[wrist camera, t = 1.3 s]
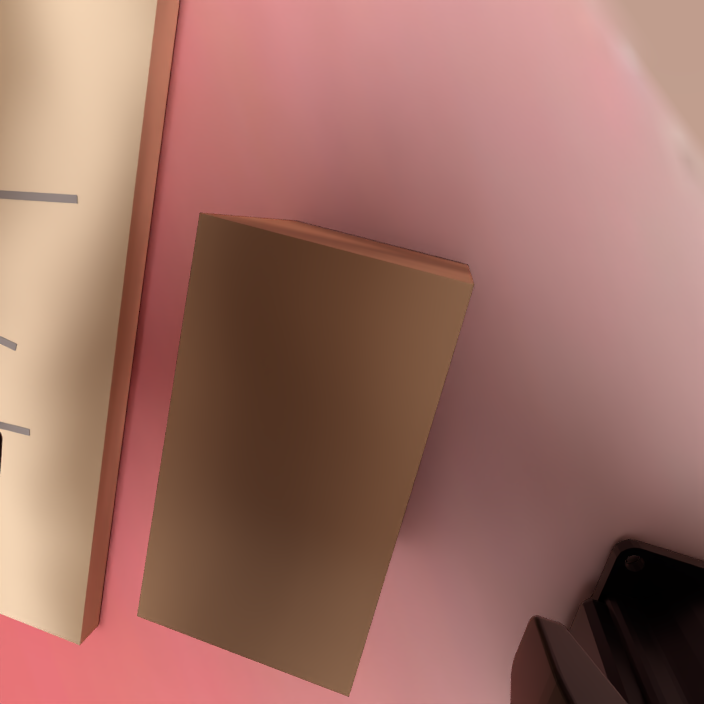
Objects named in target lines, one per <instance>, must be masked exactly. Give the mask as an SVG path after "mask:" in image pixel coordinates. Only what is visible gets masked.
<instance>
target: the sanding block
mask: <svg viewBox="0 0 704 704" xmlns="http://www.w3.org/2000/svg"><path fill="white" fill-rule="evenodd" d="M473 287H474V282H473V279H472V276H471V273H470V270H469V266H468V264H464V263H460V262H456V261H452V260H448V259H444V258H440V257H436V256H433V255H429V254H425V253H421V252H417V251H413V250H409V249H405V248H401V247H397V246H394V245H390V244H386V243H382V242H378V241H374V240H370V239H366V238H362V237H359V236H355V235H351V234H347V233H343V232H339V231H335V230H331V229H327V228H323V227H320V226H316V225H312V224H308V223H304V222H300V221H294V220H281V219H269V218H257V217H245V216H233V215H221V214H208V213H200V215H199V221H198V227H197V234H196V240H195V247H194V253H193V260H192V266H191V273H190V279H189V285H188V292H187V298H186V305H185V311H184V318H183V324H182V330H181V337H180V343H179V350H178V356H177V363H176V369H175V376H174V382H173V388H172V395H171V401H170V408H169V414H168V421H167V427H166V433H165V440H164V446H163V453H162V459H161V466H160V472H159V478H158V485H157V491H156V498H155V504H154V511H153V517H152V524H151V530H150V536H149V543H148V549H147V556H146V562H145V569H144V575H143V581H142V588H141V594H140V601H139V607H138V614H137V616H138V617H141V618H144V619H146V620H149V621H152V622H154V623H157V624H159V625H162V626H165V627H167V628H170V629H173V630H175V631H178V632H180V633H183V634H186V635H188V636H191V637H193V638H196V639H199V640H201V641H204V642H207V643H209V644H212V645H214V646H217V647H220V648H222V649H225V650H228V651H230V652H233V653H235V654H238V655H241V656H243V657H246V658H248V659H251V660H254V661H256V662H259V663H262V664H264V665H267V666H269V667H272V668H275V669H277V670H280V671H283V672H285V673H288V674H290V675H293V676H296V677H298V678H301V679H303V680H306V681H309V682H311V683H314V684H317V685H319V686H322V687H324V688H327V689H330V690H332V691H335V692H338V693H340V694H343V695H345V696H348V697H349V695H350V691H351V688H352V685H353V681H354V678H355V675H356V672H357V668H358V665H359V662H360V658H361V655H362V652H363V649H364V645H365V642H366V639H367V635H368V632H369V629H370V625H371V622H372V619H373V616H374V612H375V609H376V606H377V602H378V599H379V596H380V593H381V589H382V586H383V583H384V579H385V576H386V573H387V570H388V566H389V563H390V560H391V556H392V553H393V550H394V547H395V543H396V540H397V537H398V533H399V530H400V527H401V524H402V520H403V517H404V514H405V510H406V507H407V504H408V501H409V497H410V494H411V491H412V487H413V484H414V481H415V478H416V474H417V471H418V468H419V464H420V461H421V458H422V455H423V451H424V448H425V445H426V441H427V438H428V435H429V432H430V428H431V425H432V422H433V418H434V415H435V412H436V409H437V405H438V402H439V399H440V395H441V392H442V389H443V386H444V382H445V379H446V376H447V372H448V369H449V366H450V363H451V359H452V356H453V353H454V349H455V346H456V343H457V340H458V336H459V333H460V330H461V326H462V323H463V320H464V317H465V313H466V310H467V307H468V303H469V300H470V297H471V294H472V290H473Z"/></svg>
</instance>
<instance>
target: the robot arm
mask: <svg viewBox="0 0 704 704" xmlns="http://www.w3.org/2000/svg"><path fill="white" fill-rule="evenodd" d="M2 441H3V438H2V434H1V432H0V472H1V457H2ZM632 555H636V556H640V558H639V559H638V560H637V561H636V562H633V563H627V562H625V560H626V559H627V558H628V557H630V556H632ZM510 704H704V561H701V560H698V559H694V558H691V557H688V556H685V555H682V554H679V553H675V552H672V551H669V550H666V549H663V548H660V547H656V546H653V545H650V544H647V543H644V542H641V541H637V540H631V539H628V540H623V541H621V542H619V543H617V544H616V545H615V547H614V548H613V549H612V552H611V554H610V556H609V558H608V561H607V563H606V565H605V568H604V570H603V572H602V575H601V577H600V579H599V581H598V584H597V586H596V588H595V591H594V593H593V595H592V597H591V598H589V599H587V600H585V601H584V602H582V603H581V605H580V607H579V609H578V612H577V614H576V616H575V619H574V621H573V623H572V626H571V628H570V630H569V631H568V630H567V629H566V628H565V626H564V625H562V624H561V623H559V622H556V621H553V620H550V619H547V618H544V617H541V616H538V615H536V616H533V617H532V618H531V619H530V621H529V622H528V625H527V627H526V630H525V632H524V635H523V637H522V640H521V642H520V645H519V647H518V650H517V652H516V655H515V657H514V661H513V665H512V671H511V703H510Z"/></svg>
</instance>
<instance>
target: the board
mask: <svg viewBox="0 0 704 704" xmlns="http://www.w3.org/2000/svg"><path fill="white" fill-rule="evenodd" d="M179 1H180V0H0V432H1V434H2V438H3V441H2V457H1V472H0V614H3V615H5V616H8V617H10V618H13V619H15V620H18V621H20V622H23V623H25V624H28V625H30V626H33V627H35V628H38V629H40V630H43V631H45V632H48V633H50V634H53V635H55V636H58V637H60V638H63V639H65V640H68V641H71V642H73V643H76V644H78V645H80V644H81V643H82V642H83V641H84V640H85V639H86V638H87V637H88V636H89V635H90V634H91V633H92V631H93V630H94V629H95V628H96V627H97V626H98V623H99V615H100V607H101V600H102V592H103V584H104V577H105V569H106V561H107V554H108V546H109V538H110V531H111V523H112V515H113V508H114V500H115V492H116V485H117V477H118V469H119V462H120V454H121V446H122V439H123V431H124V423H125V416H126V408H127V400H128V393H129V385H130V377H131V370H132V362H133V354H134V347H135V339H136V331H137V324H138V316H139V308H140V300H141V293H142V285H143V277H144V270H145V262H146V254H147V247H148V239H149V231H150V224H151V216H152V208H153V201H154V193H155V185H156V178H157V170H158V162H159V155H160V147H161V139H162V132H163V124H164V116H165V109H166V101H167V93H168V86H169V78H170V70H171V63H172V55H173V47H174V40H175V32H176V24H177V17H178V9H179Z"/></svg>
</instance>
